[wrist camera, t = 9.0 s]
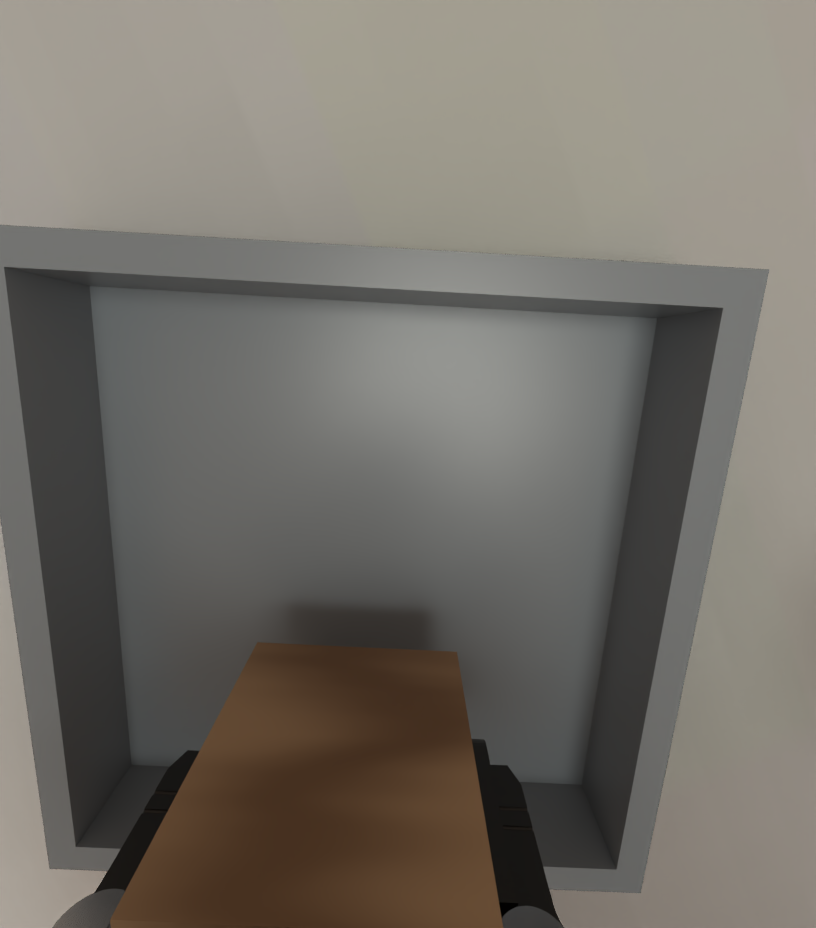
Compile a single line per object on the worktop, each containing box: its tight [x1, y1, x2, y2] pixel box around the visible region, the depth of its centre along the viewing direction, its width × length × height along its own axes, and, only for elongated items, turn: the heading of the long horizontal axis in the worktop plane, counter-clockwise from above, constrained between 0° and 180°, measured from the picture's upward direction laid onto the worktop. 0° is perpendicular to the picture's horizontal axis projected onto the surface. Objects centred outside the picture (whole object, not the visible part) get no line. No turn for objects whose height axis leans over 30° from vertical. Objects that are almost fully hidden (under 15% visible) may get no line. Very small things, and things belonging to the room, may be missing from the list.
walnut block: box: [110, 642, 503, 928], centre depth 9 cm, size 5×5×6 cm
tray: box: [0, 225, 769, 893], centre depth 13 cm, size 17×17×4 cm
